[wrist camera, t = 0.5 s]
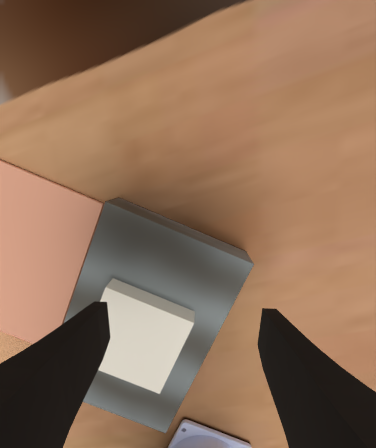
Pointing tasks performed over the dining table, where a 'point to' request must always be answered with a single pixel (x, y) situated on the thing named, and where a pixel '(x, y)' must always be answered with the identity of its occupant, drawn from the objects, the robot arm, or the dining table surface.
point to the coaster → (143, 335)
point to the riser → (162, 287)
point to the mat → (40, 250)
